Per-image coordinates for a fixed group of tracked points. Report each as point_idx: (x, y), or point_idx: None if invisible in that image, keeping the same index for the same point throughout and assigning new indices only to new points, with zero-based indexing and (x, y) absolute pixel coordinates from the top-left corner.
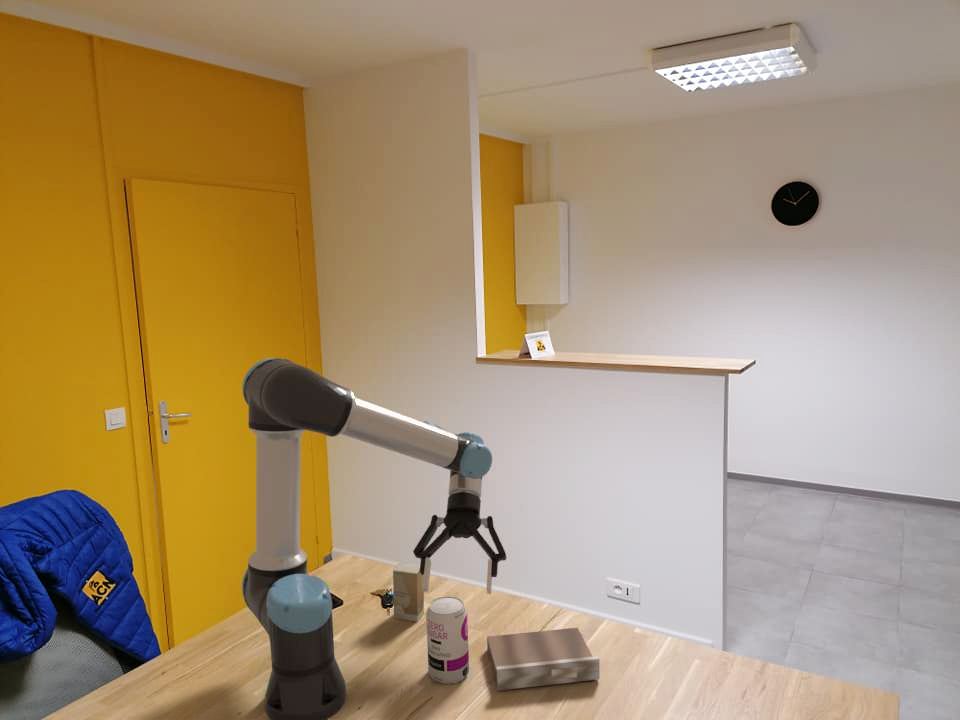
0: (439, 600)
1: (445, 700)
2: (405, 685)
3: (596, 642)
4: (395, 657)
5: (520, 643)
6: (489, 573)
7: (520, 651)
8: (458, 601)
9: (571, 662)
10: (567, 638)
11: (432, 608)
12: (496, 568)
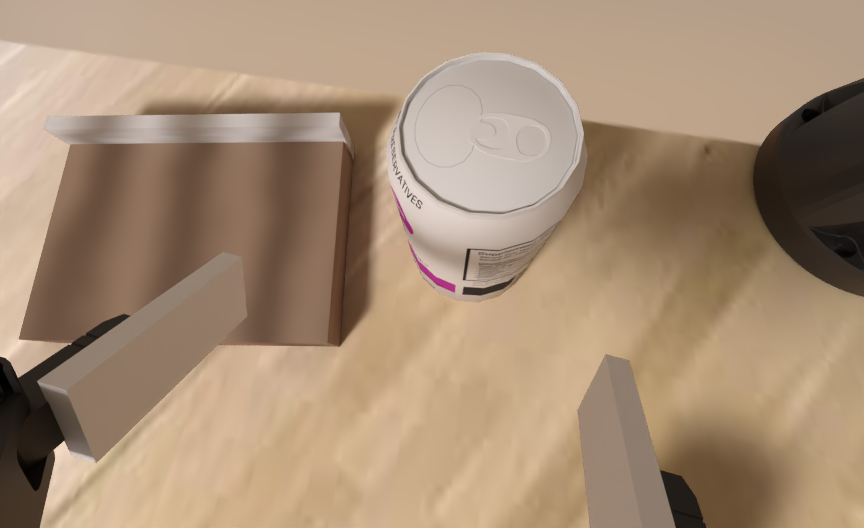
0: (523, 191)
1: None
2: (592, 216)
3: (15, 321)
4: (632, 358)
5: None
6: (155, 307)
7: (247, 239)
8: (420, 164)
9: (128, 116)
10: (81, 281)
11: (563, 120)
12: (76, 343)
